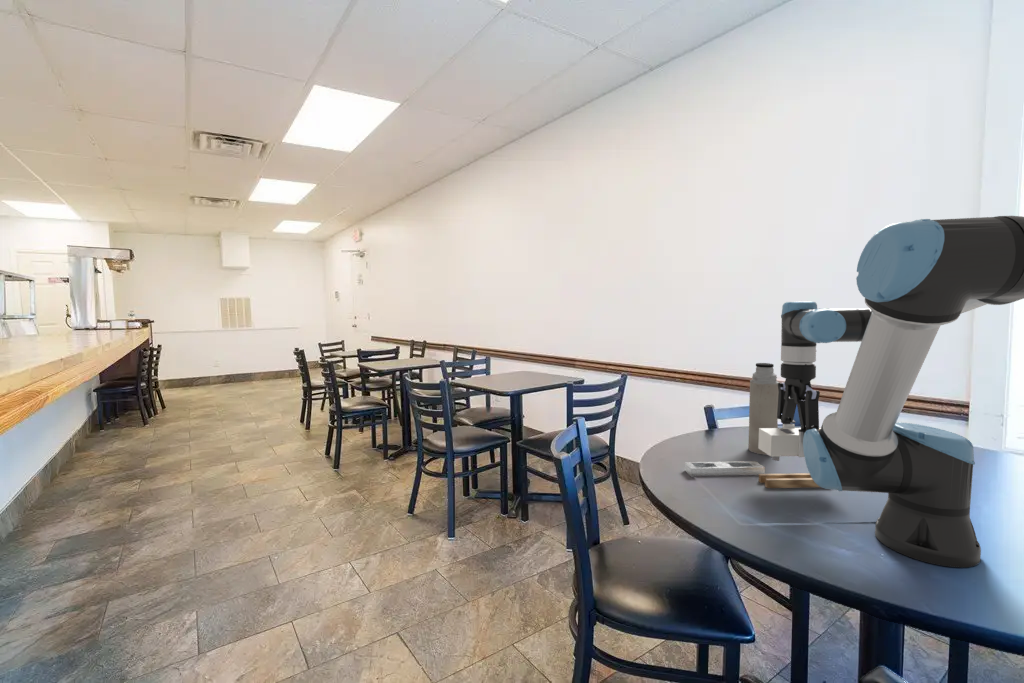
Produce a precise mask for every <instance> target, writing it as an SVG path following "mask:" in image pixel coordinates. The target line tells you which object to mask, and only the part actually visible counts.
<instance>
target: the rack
mask: <svg viewBox="0 0 1024 683" xmlns="http://www.w3.org/2000/svg"><path fill="white" fill-rule="evenodd" d="M758 483H760V484H764V487H765V488H767V489H783V488H784V489H789V488H790V489H792V488H793V489H794V488H795V489H797V488H799V489H800V488H802V489H805V488H806V489H807V488H821V487H820V486H818V485H817V484H816V483H815V482H814V481H813V479H812V477H811V475H810V473H809V472H808V473H807V472H803V473H801V472H800V473H798V472H797V473H796V472H795V473H765V474H759V475H758Z"/></svg>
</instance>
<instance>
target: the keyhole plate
mask: <svg viewBox="0 0 1024 683" xmlns="http://www.w3.org/2000/svg"><path fill="white" fill-rule="evenodd" d="M684 471H685V472H686V474H687V475H688V476H690V478H696V477H697V476H698V477H699V476H701V477H703V476H759V474H766V467H765V466H763V464H761V463H760V462H758V461H756V460H752V461H751V460H747V461H746V460H745V461H743V460H742V461H740V460H739V461H693V462H692V461H689V462H687V461H685V462H684Z"/></svg>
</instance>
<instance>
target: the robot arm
mask: <svg viewBox="0 0 1024 683" xmlns="http://www.w3.org/2000/svg"><path fill="white" fill-rule="evenodd" d="M867 241H868V242H867V243H866V244H865V246H864V247H863V249H862V252H861V253H860V256H859V258H858V262H857V266H856V272H857V273H858V274H857V276H856V278H855V279H856V285H857V289H858V291H859V293H860V294H861V296H862V297H863V298H864V303H865V305H866V308H865V307H864V308H818V304H817V302H816V301H812V300H811V301H808V300H807V301H786V302H784V303H783V304H782V307H781V313H780V314H781V315H780V317H781V331H780V332H781V343H780V344H781V345H780V361H782V362H781V364H780V377H781V378H783V379H785V381H784V382H779V383H778V390H779V394H778V409H777V418H778V420H780V422H781V424H782V428H796V426H795V425H796V424H795V423H796V421H795V420H794V418H795V414H796V410H797V412H798V418H799V422H800V423H799V425H800V428H801V429H799V430H798V431H799V440H798V456H797V457H799V458H804V461H805V465H806V468H807V470H808V473H810V475H811V477H812V479H813V481H814V482H815V483H816V484H817V485H818V486H820V487H819V488H822V489H826V490H835V491H838V492H858V493H859V492H863V493H864V492H866V493H879V494H881V493H882V494H883V493H884V494H885V493H886V494H888V495H887V501H886V503H885V505H884V507H883V508H882V511H881V513H880V516H879V517H877V519H876V522H875V524H874V525H875V527H874V535H875V537H876V539H877V540H878V541H879V542H880V543H882V544H883V545H884V546H886V547H888V548H889V549H891V550H892V551H895V552H897V553H899V554H901V555H904V556H906V557H909V558H911V559H914V560H918V561H921V562H924V563H928V564H932V565H937V566H942V567H949V568H971V567H972V568H973V567H974V566H978V565H979V564H980V562H981V555H982V548H981V544H980V543H979V541H978V538H977V535H976V531H975V527H974V525H973V523H972V519H971V517H970V516H971V504H972V503H971V501H972V486H973V473H974V466H975V464H976V463H975V452H974V445H973V443H972V442H971V440H970V439H968V438H966V437H964V436H962V435H960V434H958V433H955V432H952V431H949V430H945V429H943V428H942V429H941V428H937V427H933V426H928V425H923V424H917V423H910V422H902V421H901V422H897V421H898V419H899V417H900V415H901V413H902V410H903V408H904V406H905V404H906V402H907V400H908V397H909V395H910V394H911V391H912V389H913V386H914V385H915V383H916V379H917V377H919V376H918V375H919V373H920V371H921V369H922V367H923V365H924V363H925V360H926V358H927V356H928V354H929V351H930V350H931V347H932V345H933V343H934V340H935V339H936V336H937V334H938V331H939V330H940V327H941V326H944V325H948V324H951V323H954V322H955V321H957V320H958V319H959V317H960V316H961V314H963V313H967V312H969V311H973V310H976V309H978V308H981V307H983V306H987V305H991V306H992V305H993V306H1002V305H1007V304H1011V303H1014V302H1017V301H1020V300H1023V299H1024V216H1020V215H997V216H991V217H990V216H989V217H988V216H987V217H985V216H984V217H965V218H964V217H963V218H946V219H945V218H943V219H930V218H921V219H916V220H912V221H911V220H910V221H903V222H902V221H901V222H896V223H891V224H889V225H886V226H885V227H883V228H882V229H880V230H878V231H877V232H876V233H875V234H873V235H872V236H871V238H870V239H869V240H867ZM867 307H868V308H867ZM836 342H837V343H838V342H839V343H843V342H844V343H846V342H847V343H851V342H854V343H855V342H856V343H857V342H860V345H859V348H858V351H857V353H856V357H855V359H854V362H853V365H852V368H851V371H850V373H849V376H848V380H847V381H846V384H845V386H844V390H843V393H842V396H841V398H840V401H839V404H838V406H837V410H836V411H835V412H832V413H829V414H828V415H826V416H825V418H824V419H823V421H822V424H821V427H820V417H819V416H820V414H819V412H820V409H819V401H820V390H815V389H813V388H812V384H811V381H812V380H815V379H816V378H817V374H816V373H817V365H816V364H815V363H816V361H817V344H829V343H836ZM819 428H821V429H819Z"/></svg>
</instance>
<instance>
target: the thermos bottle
mask: <svg viewBox="0 0 1024 683" xmlns="http://www.w3.org/2000/svg"><path fill="white" fill-rule="evenodd" d="M751 377H752V379H751V380H749V405H748V406H749V407H748V408H749V411H748V443H747V444H748V451H750V452H751V453H755V454H757V455H767V456H769V455H768V454H766V453H765V452H763V451H762V450H760V449H759V448H758V442H759V428H779V427H778V425H779V422H778V420H779V419H778V418H777V409H778V394H779V390H778V383H780V381H778V380H777V378H778V376H777V374H776V373H775V372H774V364H773V363H770V362H757V363H755V372H753V373H752V376H751Z"/></svg>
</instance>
